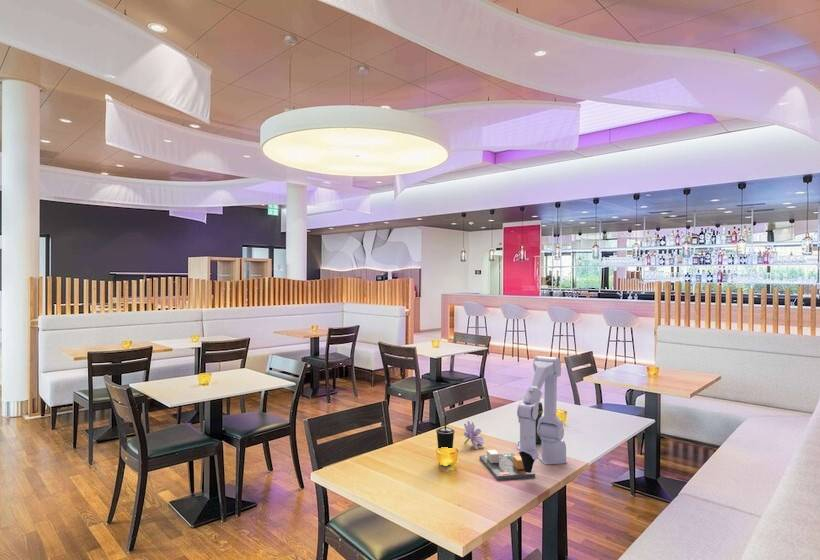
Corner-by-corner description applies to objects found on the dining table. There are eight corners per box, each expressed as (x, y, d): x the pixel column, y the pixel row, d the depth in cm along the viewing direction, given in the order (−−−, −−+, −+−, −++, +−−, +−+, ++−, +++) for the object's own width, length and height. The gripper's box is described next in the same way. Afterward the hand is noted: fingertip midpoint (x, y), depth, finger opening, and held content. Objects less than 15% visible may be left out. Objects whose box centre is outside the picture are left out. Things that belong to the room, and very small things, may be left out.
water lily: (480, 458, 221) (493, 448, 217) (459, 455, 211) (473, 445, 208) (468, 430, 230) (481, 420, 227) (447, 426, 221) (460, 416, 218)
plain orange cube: (521, 464, 191) (521, 455, 191) (526, 468, 186) (526, 459, 186) (512, 464, 191) (512, 455, 191) (517, 469, 186) (517, 460, 186)
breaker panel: (513, 456, 204) (513, 453, 204) (535, 477, 182) (535, 473, 182) (479, 459, 201) (479, 455, 201) (497, 480, 180) (497, 475, 180)
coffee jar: (545, 440, 225) (544, 401, 225) (540, 445, 218) (540, 404, 218) (524, 437, 230) (524, 398, 230) (519, 442, 223) (519, 402, 223)
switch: (495, 458, 198) (495, 449, 198) (499, 462, 193) (499, 453, 193) (487, 458, 197) (486, 450, 197) (490, 463, 192) (490, 454, 192)
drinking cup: (449, 469, 191) (449, 418, 191) (432, 465, 195) (432, 416, 195) (457, 463, 197) (457, 414, 197) (441, 459, 201) (441, 411, 201)
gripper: (510, 430, 187) (510, 465, 186) (525, 442, 172) (525, 480, 172) (527, 429, 188) (527, 464, 188) (543, 441, 173) (543, 478, 173)
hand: (527, 471), depth 180 cm, fingers closed
